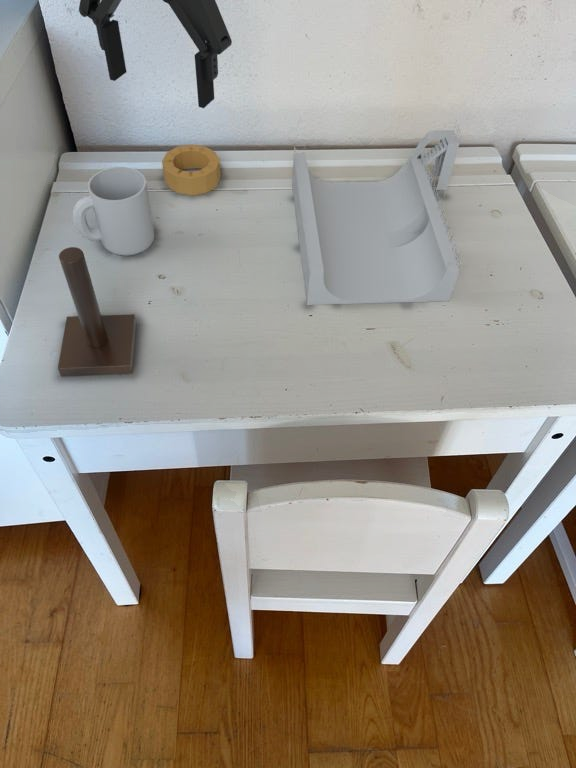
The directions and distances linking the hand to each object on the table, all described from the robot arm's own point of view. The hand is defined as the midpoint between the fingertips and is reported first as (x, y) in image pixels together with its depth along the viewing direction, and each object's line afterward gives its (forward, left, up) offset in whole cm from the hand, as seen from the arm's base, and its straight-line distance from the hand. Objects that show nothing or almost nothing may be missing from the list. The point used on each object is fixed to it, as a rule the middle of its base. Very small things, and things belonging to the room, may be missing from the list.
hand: (161, 89), depth 83 cm
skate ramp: (+30, +11, -15) cm, 35 cm away
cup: (+4, -14, -15) cm, 21 cm away
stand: (+17, -28, -14) cm, 36 cm away
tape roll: (+1, +3, -14) cm, 15 cm away
